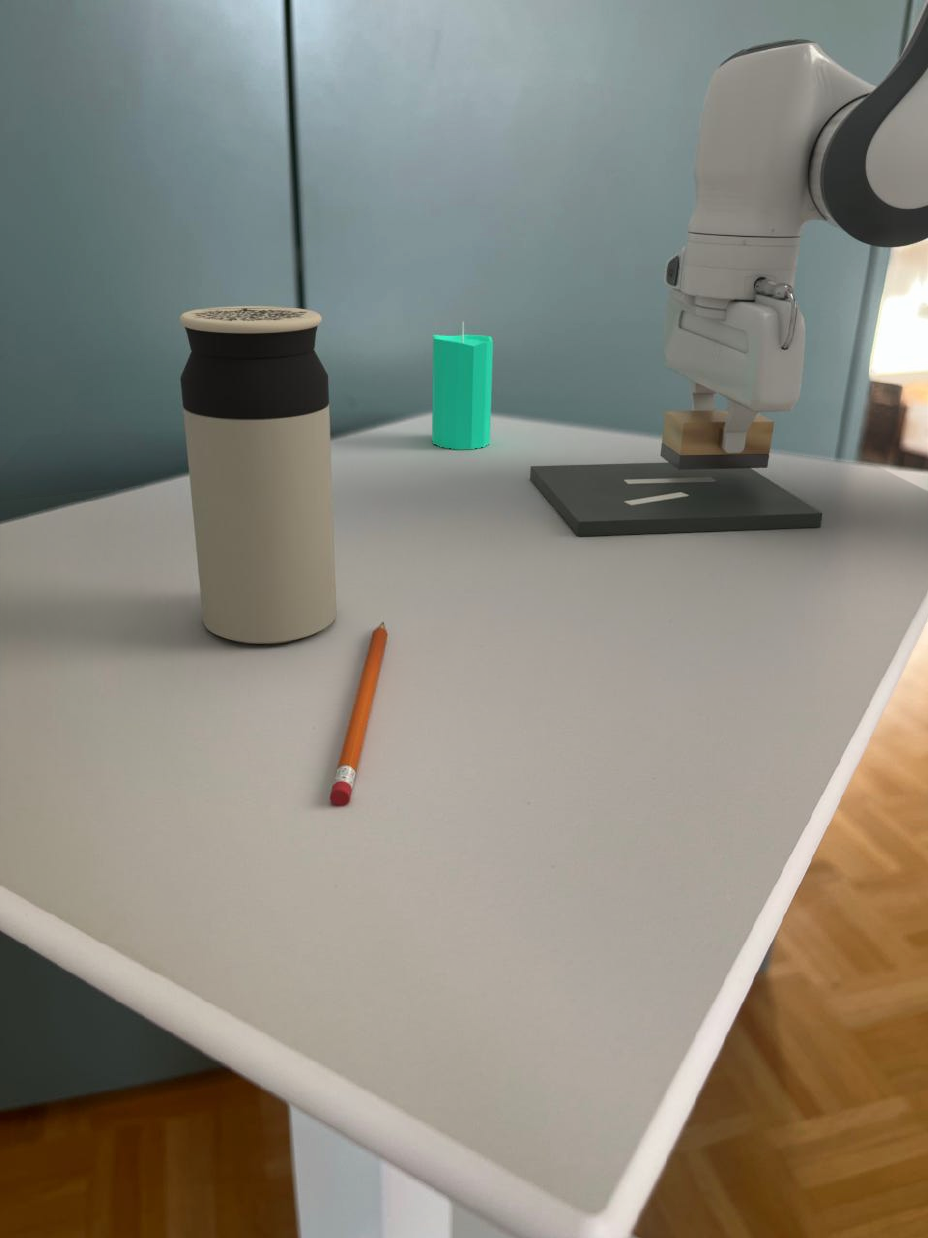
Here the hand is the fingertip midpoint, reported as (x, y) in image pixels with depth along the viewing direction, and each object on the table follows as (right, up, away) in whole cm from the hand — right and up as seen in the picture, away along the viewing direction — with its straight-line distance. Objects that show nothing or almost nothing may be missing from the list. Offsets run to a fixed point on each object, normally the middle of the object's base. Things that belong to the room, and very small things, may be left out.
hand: (716, 442), depth 86 cm
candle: (-22, +3, +17) cm, 28 cm away
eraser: (0, -2, +1) cm, 2 cm away
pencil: (-27, -20, -34) cm, 48 cm away
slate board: (-4, -5, -1) cm, 7 cm away
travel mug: (-33, -15, -25) cm, 45 cm away
